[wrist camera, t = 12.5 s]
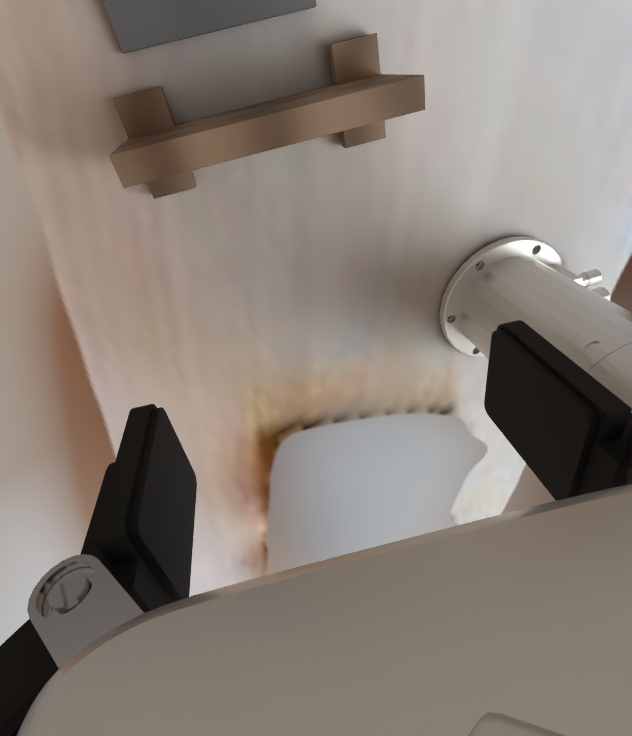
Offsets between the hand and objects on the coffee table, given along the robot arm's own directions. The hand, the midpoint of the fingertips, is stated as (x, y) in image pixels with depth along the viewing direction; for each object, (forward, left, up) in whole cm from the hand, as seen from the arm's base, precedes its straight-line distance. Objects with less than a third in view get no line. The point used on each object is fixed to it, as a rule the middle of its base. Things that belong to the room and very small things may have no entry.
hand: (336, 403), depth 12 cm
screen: (-2, -5, -25) cm, 25 cm away
